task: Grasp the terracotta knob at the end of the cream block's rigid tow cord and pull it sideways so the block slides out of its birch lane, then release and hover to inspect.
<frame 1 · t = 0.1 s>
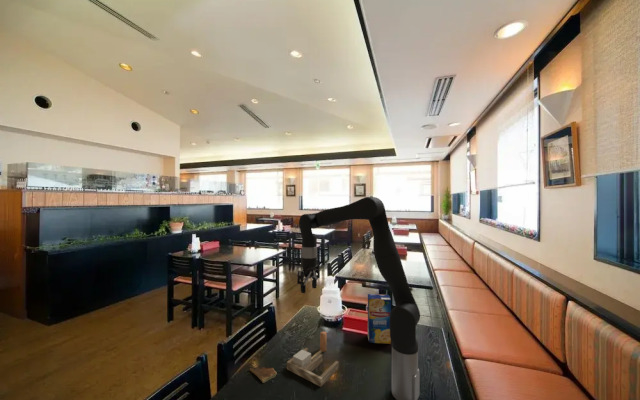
hand: (308, 290, 119), 29 cm above the table, fingers open, 8 cm apart
shard: (261, 377, 102), on the table
birch lanes: (305, 364, 109), on the table
corded block: (302, 367, 107), on the table
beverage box: (378, 339, 130), on the table
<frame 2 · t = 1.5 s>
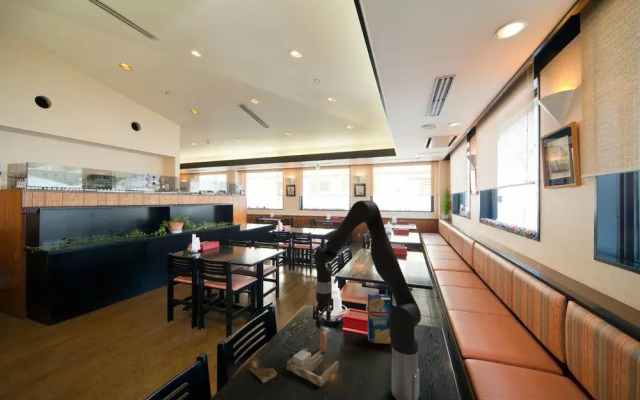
hand: (323, 323, 120), 12 cm above the table, fingers open, 8 cm apart
nothing on the table moved.
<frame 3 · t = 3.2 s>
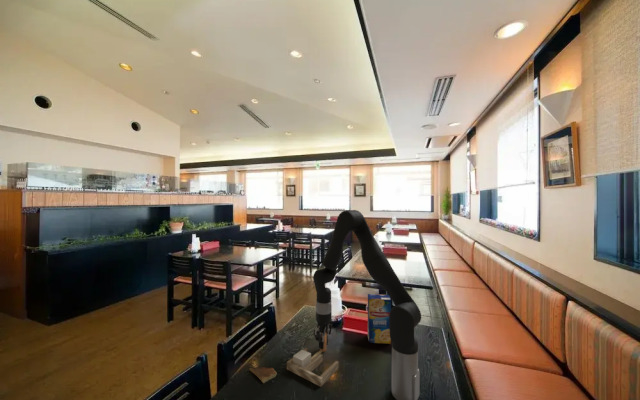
hand: (323, 346, 120), 2 cm above the table, fingers closed on corded block, 3 cm apart
corded block: (302, 367, 107), on the table, touching gripper
everything else where it was.
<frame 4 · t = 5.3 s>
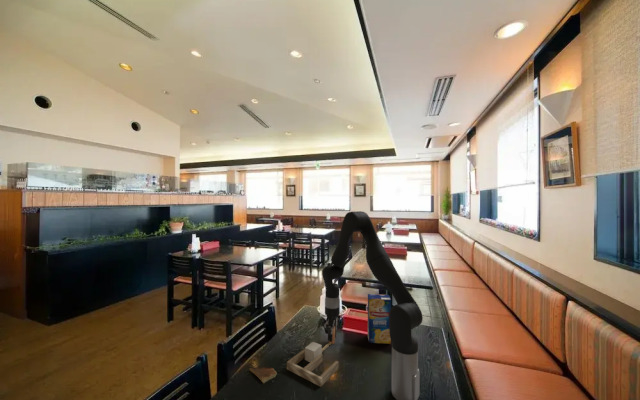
hand: (332, 339, 127), 2 cm above the table, fingers closed on corded block, 3 cm apart
corded block: (313, 358, 113), on the table, touching gripper
everything else where it was.
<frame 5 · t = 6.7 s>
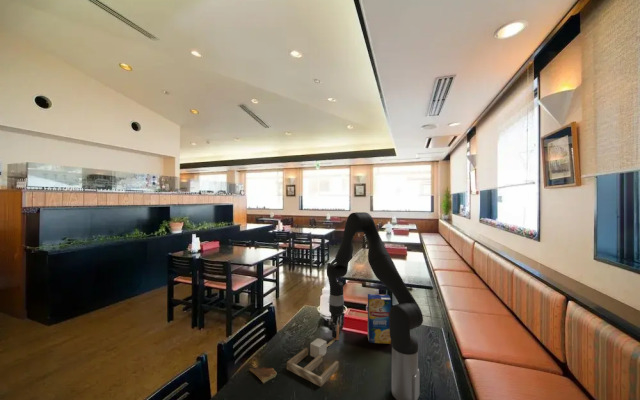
hand: (336, 335, 130), 2 cm above the table, fingers closed on corded block, 3 cm apart
corded block: (318, 354, 116), on the table, touching gripper
everything else where it was.
when the fingers open (2 cm above the table, at t = 7.3 s): corded block stays where it is, on the table.
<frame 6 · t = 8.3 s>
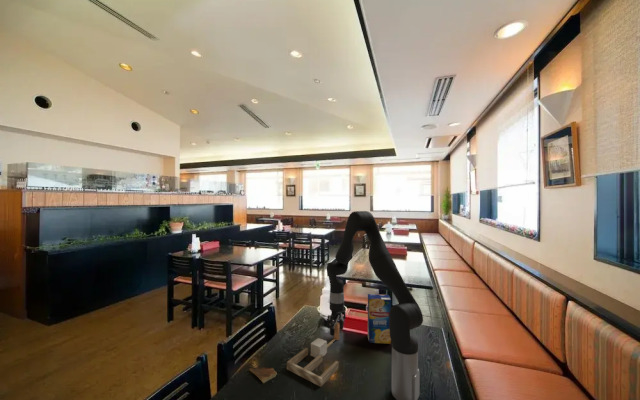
hand: (336, 331, 130), 4 cm above the table, fingers open, 8 cm apart
corded block: (318, 354, 117), on the table
everything else where it was.
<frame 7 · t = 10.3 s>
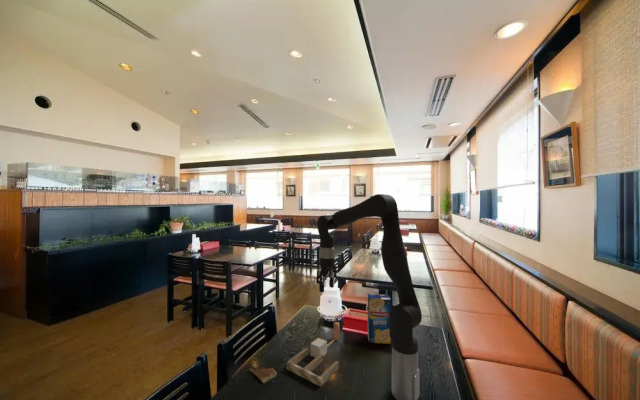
hand: (326, 289, 122), 28 cm above the table, fingers open, 8 cm apart
nothing on the table moved.
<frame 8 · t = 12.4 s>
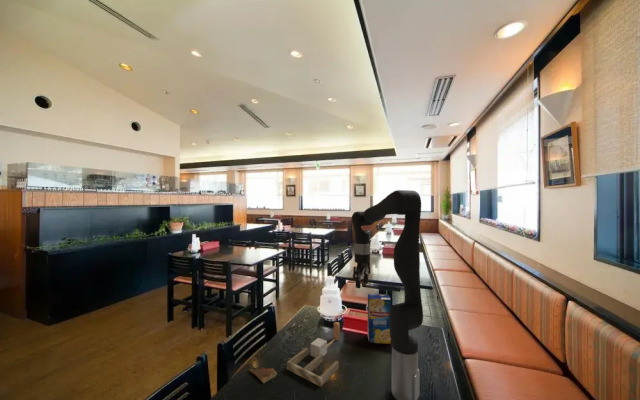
hand: (362, 285, 123), 30 cm above the table, fingers open, 8 cm apart
nothing on the table moved.
at the end: corded block inside the target area (1.8 cm from its centre), on the table; corded block moved 12.0 cm from its start; the gripper is holding nothing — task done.
